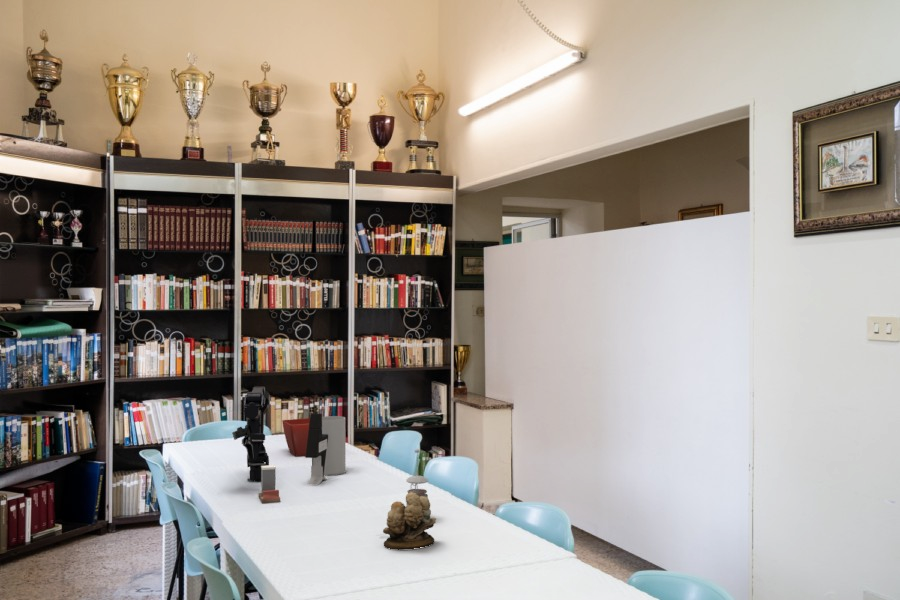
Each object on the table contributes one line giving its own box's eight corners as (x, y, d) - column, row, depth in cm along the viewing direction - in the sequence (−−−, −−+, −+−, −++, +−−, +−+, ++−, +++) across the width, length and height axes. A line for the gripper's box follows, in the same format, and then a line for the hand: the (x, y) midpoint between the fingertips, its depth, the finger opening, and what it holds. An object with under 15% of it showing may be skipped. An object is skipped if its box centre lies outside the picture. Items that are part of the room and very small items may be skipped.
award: (316, 486, 340) (316, 415, 340) (304, 485, 341) (304, 415, 341) (328, 478, 354) (328, 410, 354) (317, 477, 355) (317, 410, 355)
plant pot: (281, 451, 416) (281, 419, 416) (317, 449, 424) (317, 417, 424) (290, 458, 398) (290, 424, 398) (327, 455, 406) (327, 422, 406)
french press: (406, 522, 285) (406, 452, 285) (400, 513, 296) (400, 446, 296) (433, 520, 288) (433, 450, 288) (425, 512, 299) (425, 445, 299)
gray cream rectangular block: (261, 492, 321) (261, 465, 321) (274, 491, 323) (274, 464, 323) (262, 495, 317) (262, 467, 317) (275, 494, 319) (275, 467, 319)
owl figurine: (428, 535, 269) (428, 485, 269) (443, 545, 259) (443, 493, 259) (377, 542, 262) (378, 490, 261) (391, 553, 251) (391, 498, 251)
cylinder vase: (348, 470, 372) (348, 416, 372) (341, 476, 359) (341, 420, 359) (321, 469, 373) (321, 415, 373) (314, 475, 361) (314, 420, 360)
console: (258, 496, 321) (258, 485, 321) (276, 495, 324) (276, 484, 324) (262, 503, 311) (262, 491, 311) (280, 501, 313) (280, 490, 313)
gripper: (230, 424, 340) (228, 461, 336) (238, 418, 324) (237, 458, 320) (256, 424, 345) (255, 461, 341) (266, 419, 329) (265, 458, 324)
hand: (252, 459), depth 331 cm, fingers open, 9 cm apart
